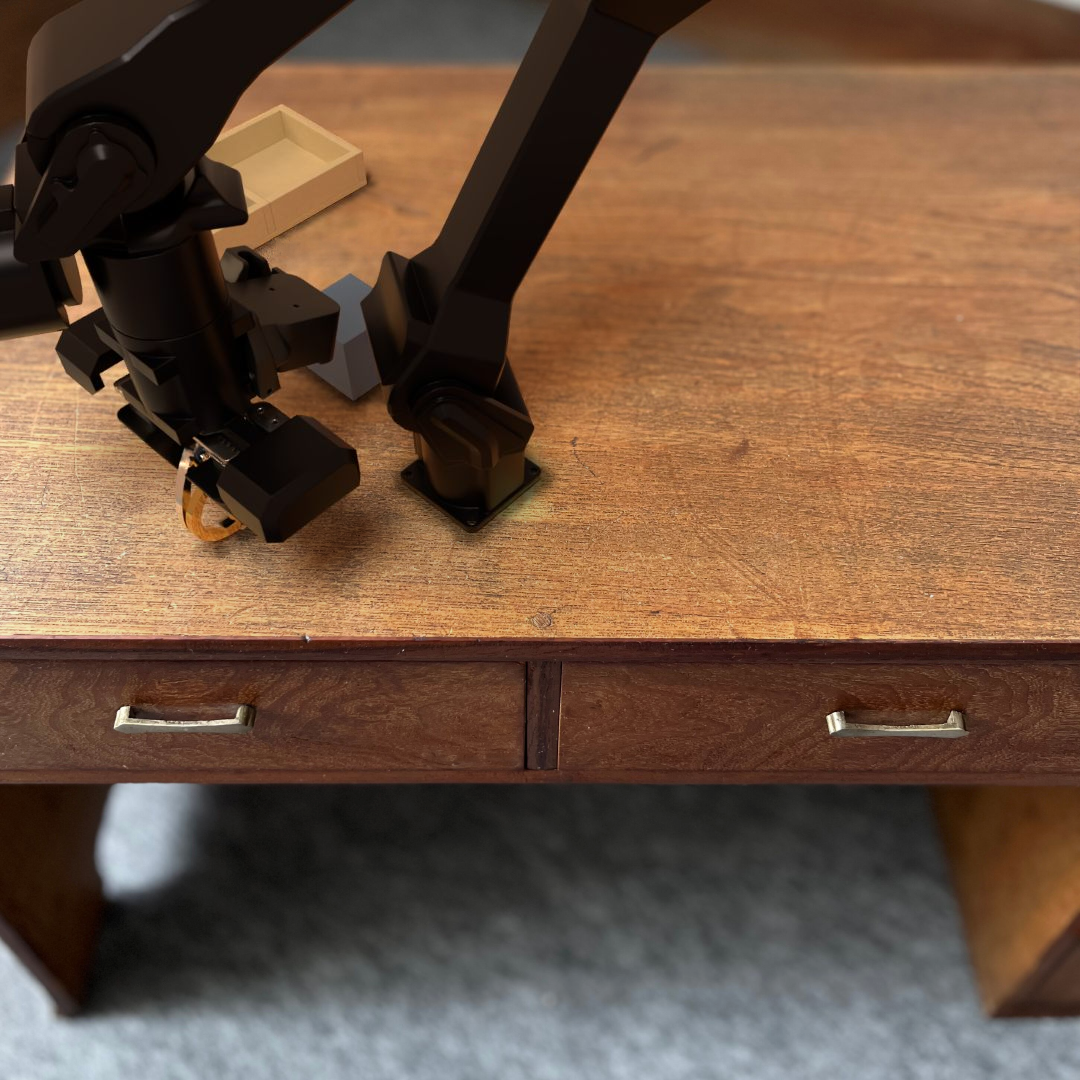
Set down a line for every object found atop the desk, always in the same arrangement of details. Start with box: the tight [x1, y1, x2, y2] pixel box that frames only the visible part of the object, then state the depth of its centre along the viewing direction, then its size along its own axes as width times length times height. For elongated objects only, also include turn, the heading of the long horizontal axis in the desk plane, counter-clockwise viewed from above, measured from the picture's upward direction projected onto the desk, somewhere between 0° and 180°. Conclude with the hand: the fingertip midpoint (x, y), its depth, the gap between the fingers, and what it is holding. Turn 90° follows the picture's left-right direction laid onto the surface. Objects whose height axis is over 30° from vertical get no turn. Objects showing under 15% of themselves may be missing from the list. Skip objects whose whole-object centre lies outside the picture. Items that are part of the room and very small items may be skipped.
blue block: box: [305, 273, 380, 401], centre depth 71 cm, size 5×5×5 cm
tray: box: [205, 103, 368, 260], centre depth 82 cm, size 19×10×3 cm, turn 138°
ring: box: [174, 438, 248, 542], centre depth 61 cm, size 7×3×8 cm, turn 143°
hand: (237, 508), depth 63 cm, fingers closed on ring, 2 cm apart
